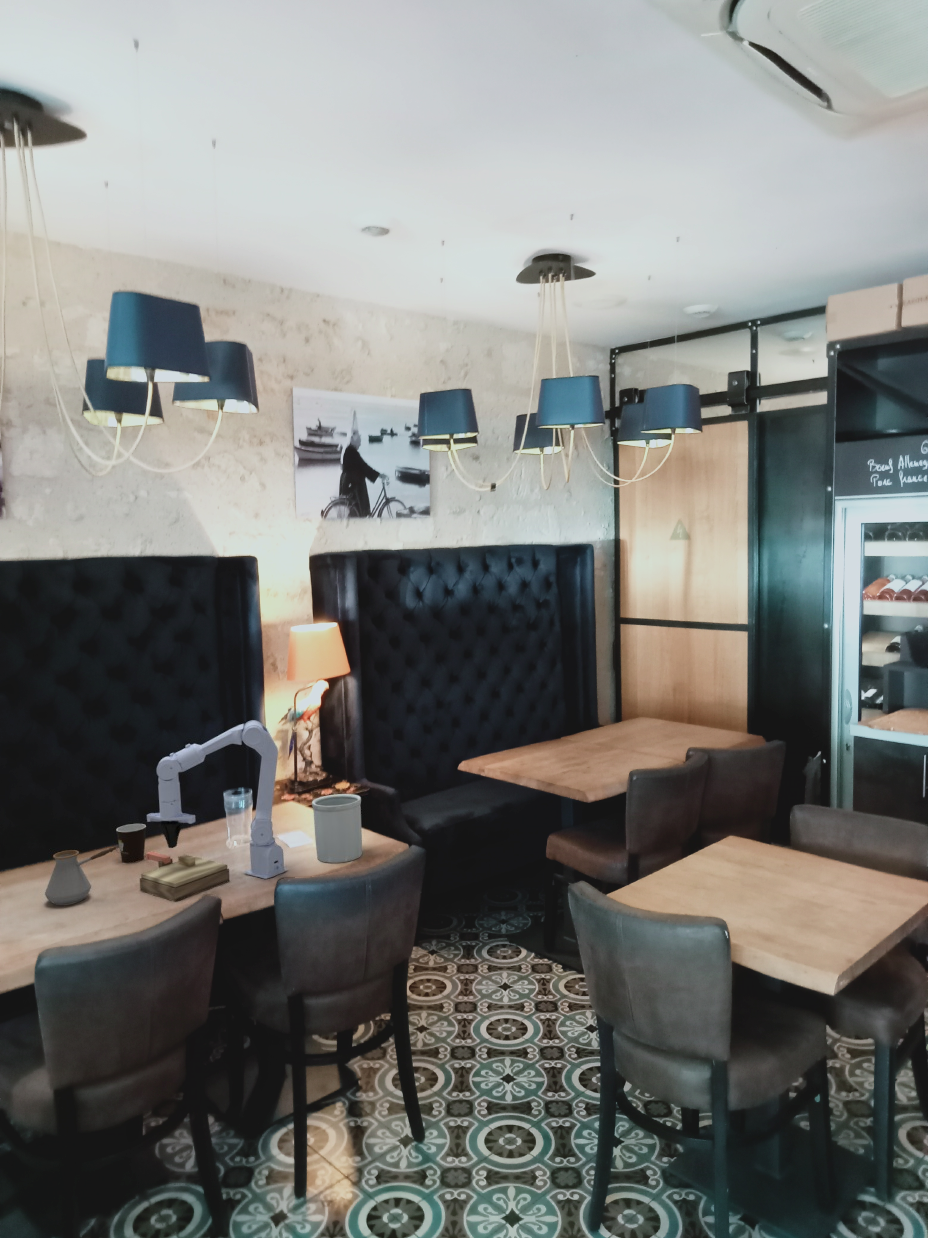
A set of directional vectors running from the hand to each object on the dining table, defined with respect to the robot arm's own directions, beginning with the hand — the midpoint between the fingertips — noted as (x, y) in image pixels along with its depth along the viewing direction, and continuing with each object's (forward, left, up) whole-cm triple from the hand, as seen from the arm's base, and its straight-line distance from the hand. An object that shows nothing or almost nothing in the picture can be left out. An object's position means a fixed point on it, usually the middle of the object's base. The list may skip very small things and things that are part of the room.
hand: (172, 847), depth 246 cm
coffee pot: (+10, +21, -11) cm, 26 cm away
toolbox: (-5, 0, -10) cm, 11 cm away
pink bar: (+7, 0, -5) cm, 9 cm away
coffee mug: (+31, -7, -11) cm, 33 cm away
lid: (-5, 0, -7) cm, 8 cm away
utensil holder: (-25, -41, -11) cm, 49 cm away
